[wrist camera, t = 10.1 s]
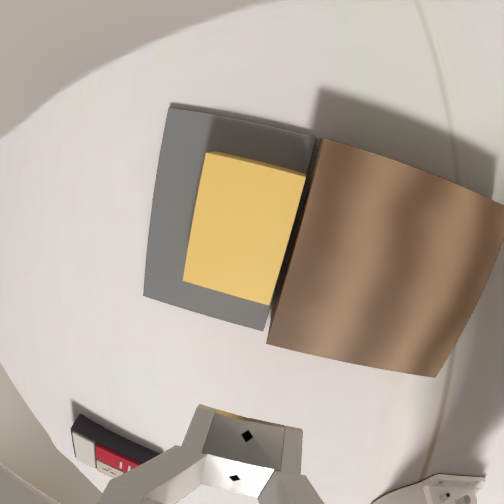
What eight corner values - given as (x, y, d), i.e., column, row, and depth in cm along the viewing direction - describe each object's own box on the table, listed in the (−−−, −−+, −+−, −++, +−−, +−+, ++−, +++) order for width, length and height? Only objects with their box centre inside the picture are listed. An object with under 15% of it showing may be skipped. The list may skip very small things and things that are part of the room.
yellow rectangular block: (305, 173, 23) (305, 177, 21) (272, 291, 27) (269, 305, 25) (215, 151, 24) (205, 152, 21) (192, 268, 27) (182, 280, 25)
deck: (492, 201, 22) (513, 210, 18) (425, 355, 27) (435, 377, 24) (320, 138, 23) (324, 138, 19) (270, 321, 28) (266, 343, 25)
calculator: (153, 496, 40) (73, 460, 40) (159, 478, 44) (82, 443, 44) (161, 474, 36) (67, 431, 36) (169, 452, 40) (79, 412, 40)
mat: (315, 137, 23) (315, 137, 22) (263, 328, 29) (263, 331, 28) (170, 108, 23) (168, 107, 23) (145, 293, 30) (143, 295, 29)
